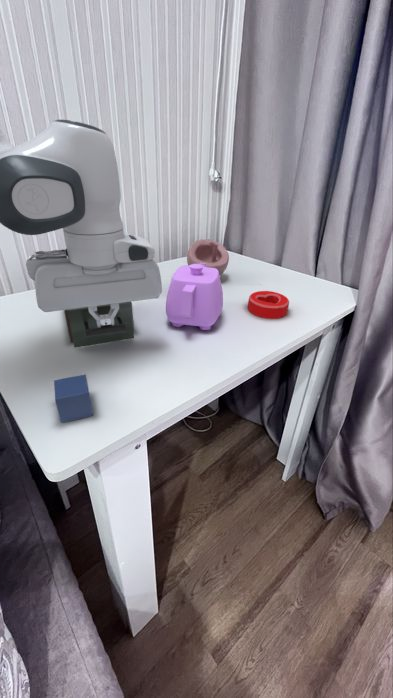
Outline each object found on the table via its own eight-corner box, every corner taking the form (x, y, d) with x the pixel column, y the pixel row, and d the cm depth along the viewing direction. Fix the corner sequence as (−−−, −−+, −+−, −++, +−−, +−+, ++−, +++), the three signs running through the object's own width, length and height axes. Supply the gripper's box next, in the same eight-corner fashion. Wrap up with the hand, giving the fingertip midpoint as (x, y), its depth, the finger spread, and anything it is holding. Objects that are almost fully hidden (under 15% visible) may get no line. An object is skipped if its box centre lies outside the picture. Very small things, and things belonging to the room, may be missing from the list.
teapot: (215, 344, 67) (220, 285, 60) (156, 336, 69) (154, 278, 62) (225, 303, 84) (230, 254, 77) (178, 298, 85) (178, 249, 79)
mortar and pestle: (194, 287, 92) (195, 246, 86) (181, 273, 101) (182, 234, 95) (233, 284, 95) (237, 243, 89) (217, 270, 105) (220, 233, 99)
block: (60, 423, 47) (54, 399, 45) (59, 403, 51) (53, 380, 48) (93, 415, 49) (89, 392, 47) (89, 396, 52) (85, 373, 50)
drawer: (140, 350, 62) (137, 313, 58) (77, 361, 59) (69, 323, 54) (121, 309, 77) (118, 277, 72) (69, 316, 73) (62, 283, 69)
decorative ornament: (272, 322, 76) (274, 310, 74) (239, 308, 82) (241, 296, 80) (294, 311, 82) (297, 299, 80) (263, 298, 88) (264, 287, 86)
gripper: (22, 258, 46) (43, 344, 53) (164, 248, 53) (165, 325, 60) (23, 246, 51) (42, 326, 58) (153, 238, 57) (155, 310, 65)
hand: (106, 325), depth 59 cm, fingers closed, pressing on drawer
